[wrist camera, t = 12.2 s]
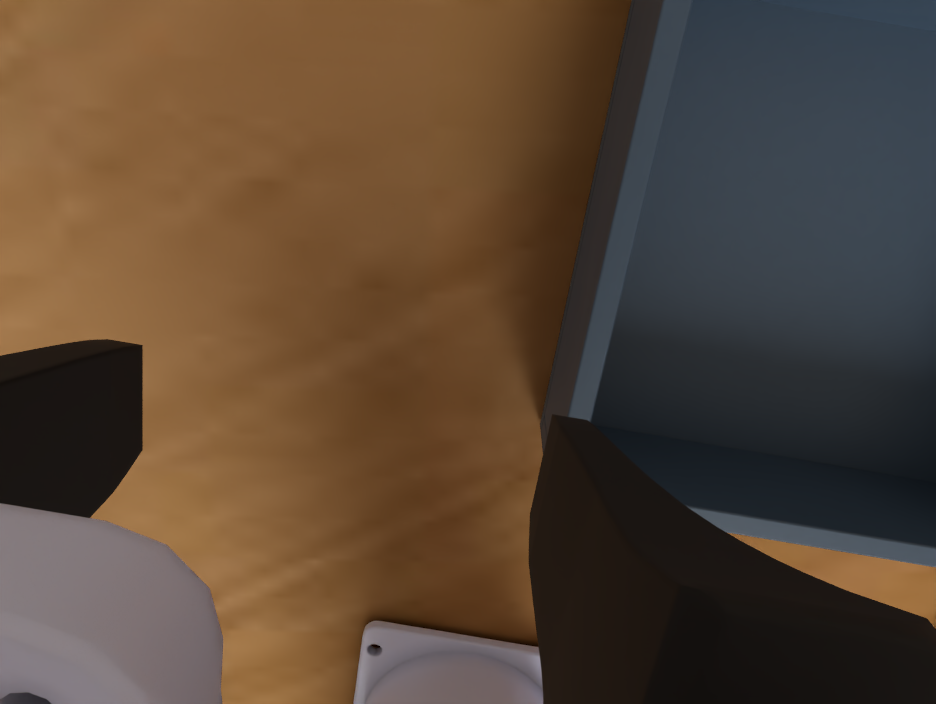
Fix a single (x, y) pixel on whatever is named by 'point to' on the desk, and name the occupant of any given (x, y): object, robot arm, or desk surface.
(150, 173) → the desk surface
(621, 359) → the bin
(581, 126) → the desk surface
